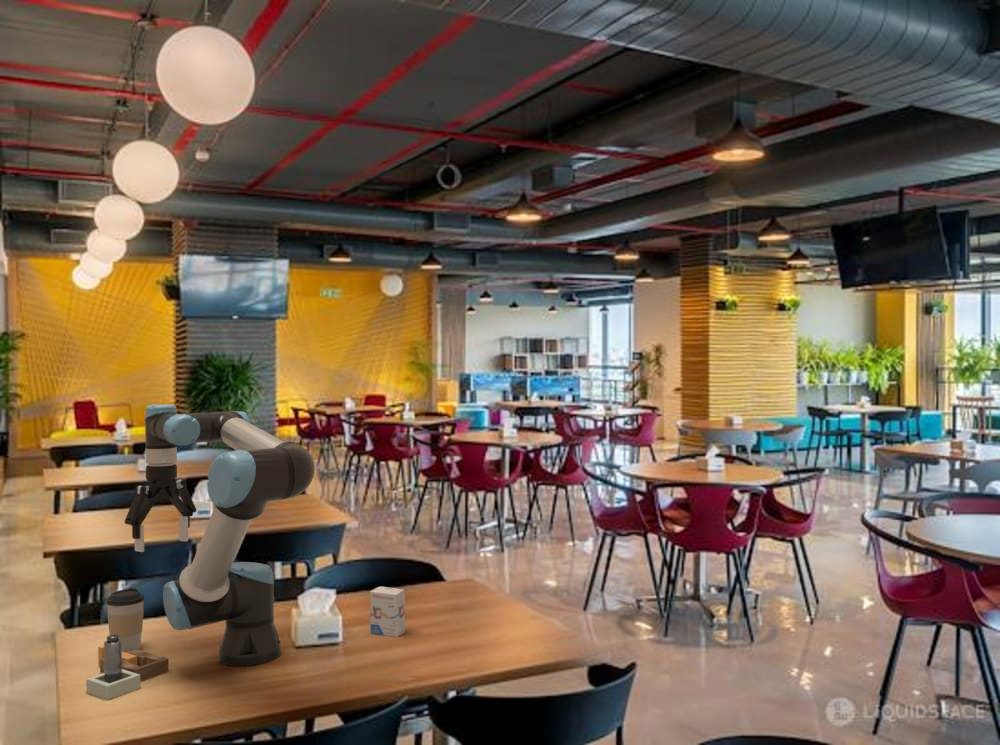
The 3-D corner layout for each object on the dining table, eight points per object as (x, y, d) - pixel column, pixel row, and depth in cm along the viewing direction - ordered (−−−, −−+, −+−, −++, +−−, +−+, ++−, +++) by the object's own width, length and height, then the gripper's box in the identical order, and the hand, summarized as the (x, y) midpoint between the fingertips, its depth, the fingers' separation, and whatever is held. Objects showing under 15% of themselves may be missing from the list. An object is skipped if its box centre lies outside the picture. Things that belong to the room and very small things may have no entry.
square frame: (140, 687, 191) (140, 674, 191) (107, 699, 184) (107, 686, 184) (119, 680, 195) (119, 668, 195) (86, 692, 188) (86, 679, 188)
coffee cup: (130, 656, 212) (129, 597, 211) (98, 654, 213) (98, 595, 213) (152, 644, 221) (151, 587, 220) (121, 642, 222) (121, 585, 222)
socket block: (168, 671, 201) (168, 658, 201) (134, 683, 194) (134, 670, 194) (134, 660, 208) (134, 648, 208) (100, 672, 201) (100, 659, 201)
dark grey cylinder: (125, 688, 190) (124, 635, 190) (111, 694, 187) (110, 640, 187) (116, 685, 192) (115, 632, 192) (101, 691, 189) (100, 637, 189)
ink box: (369, 633, 228) (368, 590, 228) (378, 628, 233) (378, 585, 233) (396, 637, 225) (396, 593, 225) (405, 631, 230) (405, 588, 229)
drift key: (140, 667, 203) (140, 649, 203) (124, 673, 200) (124, 654, 200) (114, 659, 209) (114, 641, 209) (98, 664, 205) (98, 646, 205)
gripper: (190, 458, 230) (191, 535, 230) (108, 468, 208) (109, 554, 208) (209, 459, 226) (210, 538, 227) (128, 470, 204) (129, 557, 205)
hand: (162, 546), depth 217 cm, fingers open, 13 cm apart
